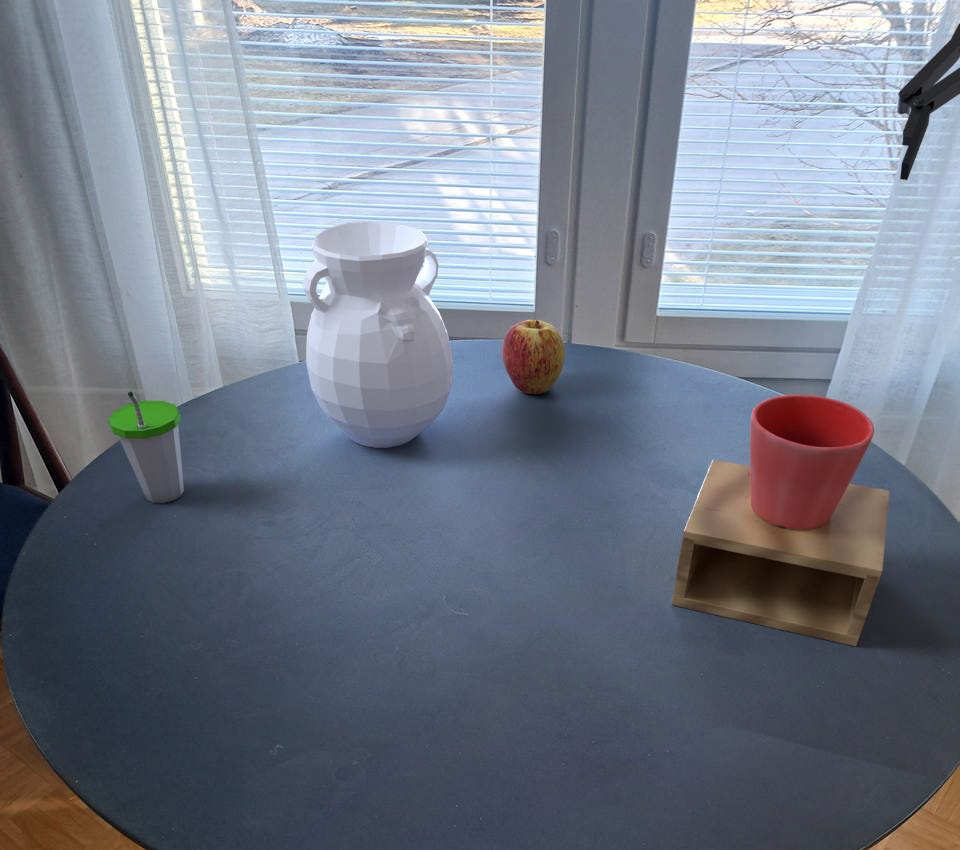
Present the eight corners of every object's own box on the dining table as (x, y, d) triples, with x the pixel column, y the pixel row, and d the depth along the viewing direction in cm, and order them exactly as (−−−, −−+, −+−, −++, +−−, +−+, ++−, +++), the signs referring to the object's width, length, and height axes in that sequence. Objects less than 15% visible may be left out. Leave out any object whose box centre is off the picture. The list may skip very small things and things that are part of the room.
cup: (156, 473, 113) (125, 357, 103) (210, 483, 111) (183, 367, 101) (117, 504, 107) (81, 385, 98) (173, 515, 105) (141, 395, 96)
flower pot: (778, 550, 83) (801, 456, 77) (713, 493, 91) (730, 404, 85) (871, 527, 86) (901, 434, 80) (800, 474, 94) (822, 386, 88)
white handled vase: (350, 480, 111) (327, 273, 95) (295, 421, 124) (266, 229, 108) (480, 443, 119) (479, 244, 103) (415, 391, 131) (406, 206, 115)
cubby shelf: (866, 563, 97) (890, 490, 92) (856, 646, 87) (882, 570, 81) (700, 529, 103) (712, 459, 97) (671, 605, 92) (683, 531, 86)
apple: (495, 379, 134) (495, 312, 127) (553, 373, 136) (556, 306, 129) (511, 405, 127) (512, 335, 121) (572, 398, 129) (576, 329, 122)
